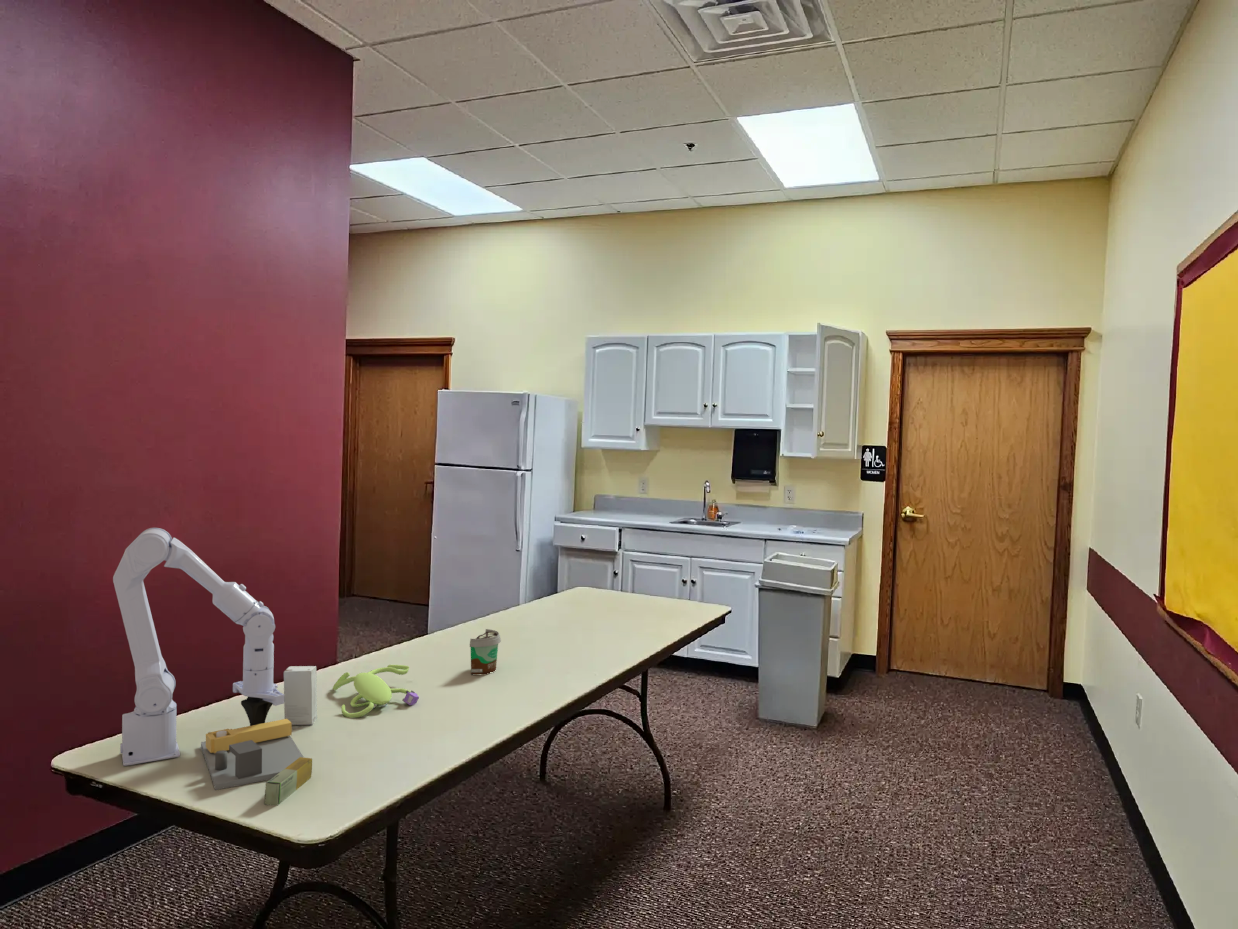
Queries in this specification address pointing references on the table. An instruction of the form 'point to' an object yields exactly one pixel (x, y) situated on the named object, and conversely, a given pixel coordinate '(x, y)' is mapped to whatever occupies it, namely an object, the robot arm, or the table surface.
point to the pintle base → (249, 761)
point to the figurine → (374, 689)
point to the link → (248, 734)
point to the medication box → (288, 781)
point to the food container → (484, 652)
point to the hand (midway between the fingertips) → (257, 732)
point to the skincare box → (300, 695)
